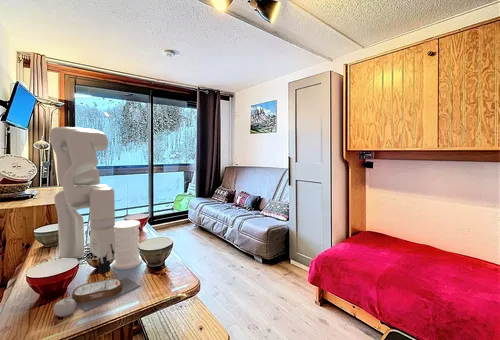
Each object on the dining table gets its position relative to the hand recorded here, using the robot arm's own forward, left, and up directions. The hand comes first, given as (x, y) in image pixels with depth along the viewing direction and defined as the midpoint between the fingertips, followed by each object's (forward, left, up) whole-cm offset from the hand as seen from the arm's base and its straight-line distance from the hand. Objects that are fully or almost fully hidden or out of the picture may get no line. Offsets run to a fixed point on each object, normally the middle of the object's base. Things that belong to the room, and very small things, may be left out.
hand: (104, 272), depth 87 cm
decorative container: (-14, +16, -7) cm, 22 cm away
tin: (-3, -1, -5) cm, 5 cm away
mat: (+3, 0, -7) cm, 7 cm away
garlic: (+4, -13, -7) cm, 15 cm away
